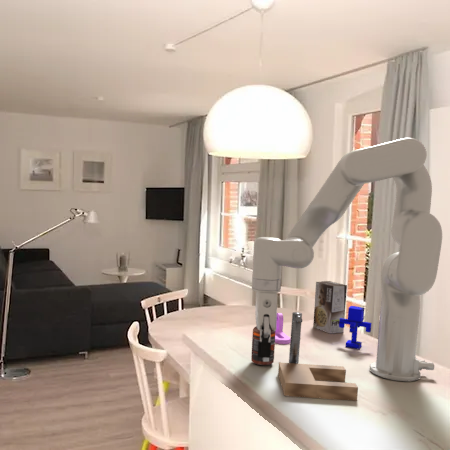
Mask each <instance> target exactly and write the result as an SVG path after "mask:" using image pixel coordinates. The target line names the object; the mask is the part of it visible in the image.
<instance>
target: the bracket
mask: <svg viewBox="0 0 450 450" xmlns="http://www.w3.org/2000/svg"><path fill="white" fill-rule="evenodd" d="M283 327H284V315H283V313H282V312H277V325H276V331H275V344H277V345H278V344H279V345H290V340H291V336H289V335H287V334H286V333H285V332H284V330H283V329H284V328H283Z"/></svg>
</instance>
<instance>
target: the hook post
mask: <svg viewBox="0 0 450 450" xmlns="http://www.w3.org/2000/svg"><path fill="white" fill-rule="evenodd" d="M291 314H292V316H291V329H290V343H289V356H288V363H296V364H299V361H300V345H301V336H302V333H301V332H302V323H303V313H302V312H298V311H294V312H293V311H292V313H291Z"/></svg>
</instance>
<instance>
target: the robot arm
mask: <svg viewBox="0 0 450 450" xmlns="http://www.w3.org/2000/svg"><path fill="white" fill-rule="evenodd" d="M426 161H427V148H426V147H425V145H424V144H423V143H422V142H421V141H420V140H419V139H416V138H414V137H404V138H400V139H399V138H398V139H396V140H392V141H387V142H384V143H380V144H376V145H373V146H368V147H363V148H359V149H358V148H357V149H355V150H352V151H350V152H347V153H346V154H344V155H343V156H342V157H341V158H340V159H339V161H338V163H336V165H335V167H334V168H333V170H332V171H331V173H330V174H329V176H328V177H327V179H325V182H324V183H323V185H322V186H321V187H320V189H319V191H318V192H317V193H316V195H315V196H314V198H313V199H312V200H311V201H310V203H309V205H308V206H307V208H306V209H305V210H304V212H303V213H302V215H300V217H299V219H298V220H297V222H296V223H295V224H294V226H293V227H292V229H291V230H290V232H289V233H288V234H287V236H286V238H285V239H280V238H278V237H272V236H271V237H270V236H261V237H256V238H255V240H254V242H253V257H252V258H253V259H252V273H251V274H252V278H251V291H253V292H255V325H256V326H257V329H258V330H259V331H260V340H259V341H258V357H264V358H270V353H271V342H270V341H271V328H272V330H273V331H276V325H277V313H278V293H280V292H281V290H282V287H281V286H282V271H283V269H282V268H283V267H287V268H293V269H304V268H306V267H308V266H309V265H310V264H312V262H313V260H314V256H315V251H314V247H315V245H316V243H317V242H318V241H319V239H320V237H321V236H322V235H323V234H324V232H326V230H327V229H328V228H330V227H331V226H332V225H334V224H336V223H337V222H338V221H339V220H340V219H341V218H342V217H343V216H344V214H345V213H346V211H347V210H348V209H349V207H350V205H351V204H352V202H353V201H354V200H355V198H356V196H357V195H358V194H359V192H360V191H361V189H362V188H363V186H364V185H365V184H369V183H374V182H378V181H379V182H380V181H384V180H387V179H388V180H389V179H391V178H392V179H393V181H394V182H395V183H394V184H395V187H396V194H395V203H394V209H393V218H392V223H391V228H390V233H391V237H392V240H394V242H395V243H396V244H398V245H399V251H397V252H394V253H392V254H390V255H388V257H386V258H385V260H384V261H383V264H382V266H381V271H380V273H381V274H380V278H381V279H380V280H381V301H380V312H379V313H380V314H379V326H378V334H377V335H378V336H377V349H376V350H377V351H376V361H374V362H371V363H370V364H369V371H370V372H371V373H372V374H374V375H376V376H378V377H381V378H383V379H387V380H391V381H397V382H415V381H418V380H420V379H421V374H422V373H421V371H422V370H427V371H434V370H435V363H434V362H431V361H426V360H425V359H424V360H423V359H418V358H417V357H416V356H417V345H418V334H419V333H418V332H419V320H420V314H421V313H420V309H421V298H420V297H421V296H423V295H425V294H427V292H429V291H430V290H431V289H432V288H433V287H434V284H435V282H436V279H437V275H438V270H439V269H438V268H439V264H440V263H439V262H440V256H441V250H442V244H443V229H442V225H441V223H440V221H439V220H438V218H437V217H436V216H435V215H433V214H432V213H431V205H432V196H433V193H432V192H433V186H432V185H433V183H432V179H431V175H430V173H429V171H428V170H427V168H426V166H425V163H426ZM263 318H264V321H263ZM262 327H264V329H261V328H262ZM262 332H264V333H263V334H262Z"/></svg>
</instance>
